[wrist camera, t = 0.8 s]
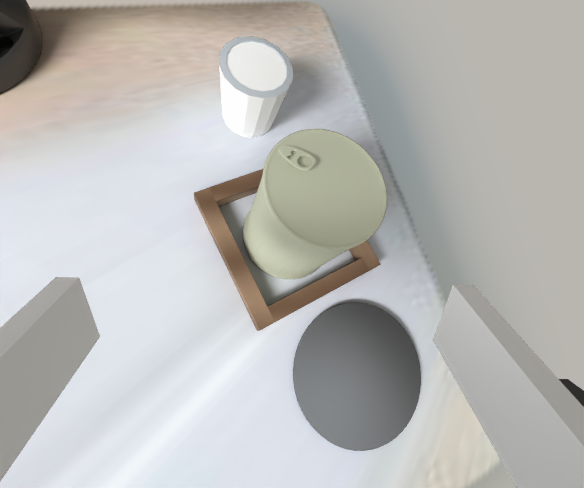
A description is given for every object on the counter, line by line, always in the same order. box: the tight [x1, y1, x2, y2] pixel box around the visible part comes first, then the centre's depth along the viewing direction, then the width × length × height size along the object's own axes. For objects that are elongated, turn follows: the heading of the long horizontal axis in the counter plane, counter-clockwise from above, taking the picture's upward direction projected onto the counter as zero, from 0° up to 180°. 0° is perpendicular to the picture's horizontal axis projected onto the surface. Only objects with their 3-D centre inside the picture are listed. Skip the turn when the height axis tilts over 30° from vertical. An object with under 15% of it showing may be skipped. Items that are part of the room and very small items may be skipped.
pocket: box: [194, 169, 381, 330], centre depth 31 cm, size 14×14×2 cm
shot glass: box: [219, 36, 293, 138], centre depth 31 cm, size 7×7×7 cm
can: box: [243, 129, 387, 279], centre depth 26 cm, size 9×9×12 cm
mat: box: [293, 303, 421, 451], centre depth 30 cm, size 13×13×1 cm
